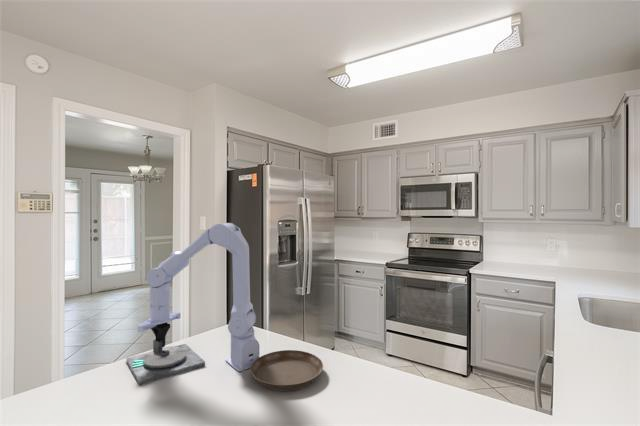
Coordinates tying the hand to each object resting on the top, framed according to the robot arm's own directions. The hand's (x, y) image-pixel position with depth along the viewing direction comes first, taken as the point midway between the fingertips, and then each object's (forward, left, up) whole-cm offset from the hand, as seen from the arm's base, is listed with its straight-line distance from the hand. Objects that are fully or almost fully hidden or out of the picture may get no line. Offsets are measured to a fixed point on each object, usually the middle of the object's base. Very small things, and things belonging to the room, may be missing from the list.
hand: (160, 347), depth 107 cm
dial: (-5, 0, -2) cm, 5 cm away
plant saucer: (-35, -25, -4) cm, 43 cm away
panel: (-5, 0, -4) cm, 6 cm away
